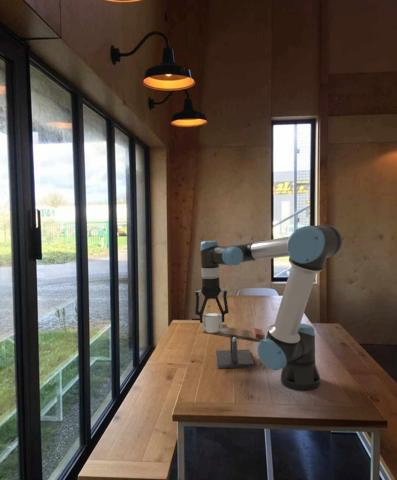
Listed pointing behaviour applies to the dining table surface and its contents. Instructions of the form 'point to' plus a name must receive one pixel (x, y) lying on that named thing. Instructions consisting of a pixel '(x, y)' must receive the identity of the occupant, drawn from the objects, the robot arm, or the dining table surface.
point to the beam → (239, 333)
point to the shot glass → (212, 322)
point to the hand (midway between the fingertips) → (212, 329)
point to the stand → (234, 357)
